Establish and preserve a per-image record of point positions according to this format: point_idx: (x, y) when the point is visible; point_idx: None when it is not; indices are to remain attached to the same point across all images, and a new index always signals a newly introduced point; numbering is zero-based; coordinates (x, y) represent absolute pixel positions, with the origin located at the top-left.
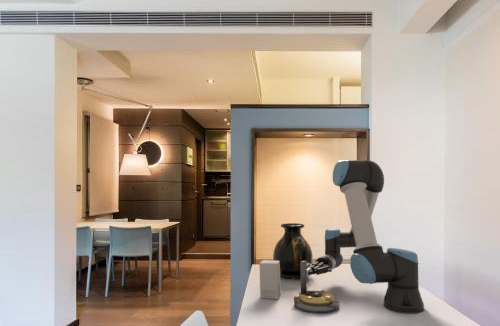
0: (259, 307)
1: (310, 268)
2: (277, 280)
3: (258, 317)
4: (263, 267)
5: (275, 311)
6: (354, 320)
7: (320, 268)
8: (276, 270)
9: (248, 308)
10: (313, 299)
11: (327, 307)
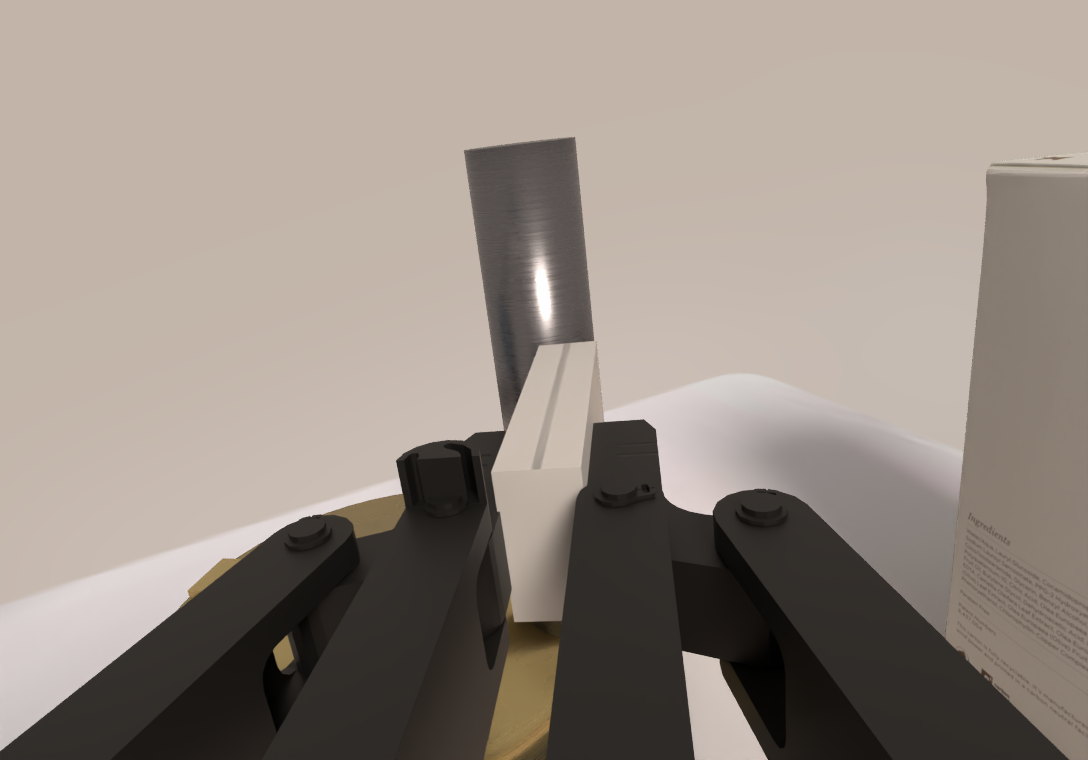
0: (857, 475)
1: (509, 458)
2: (967, 431)
3: (712, 407)
4: None
5: (694, 478)
6: (71, 592)
7: (200, 600)
8: (985, 278)
9: (896, 440)
10: (398, 508)
11: None
